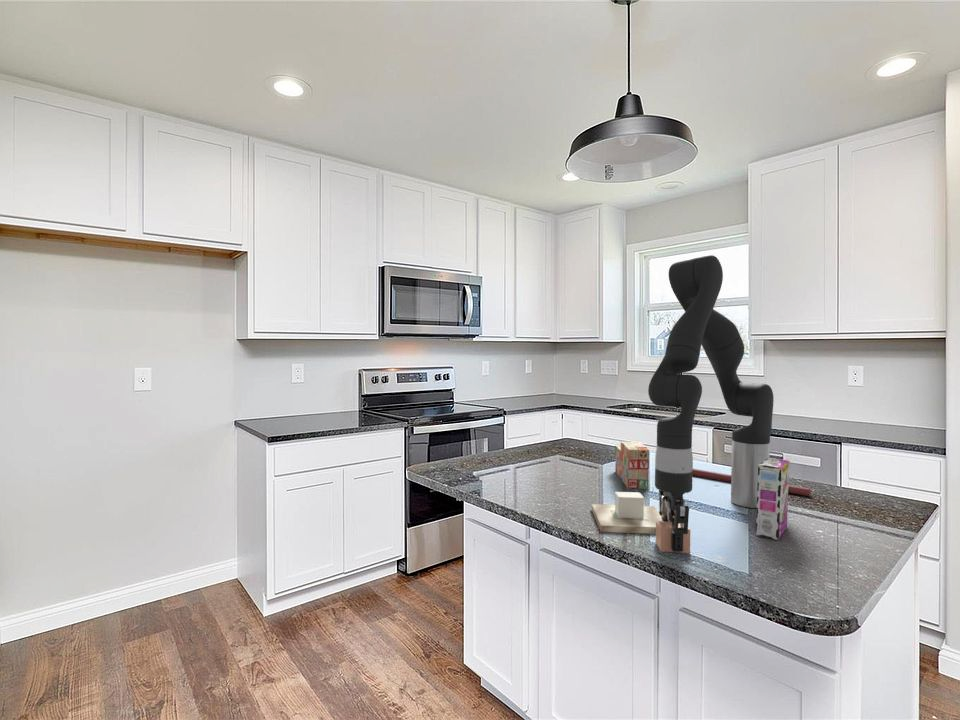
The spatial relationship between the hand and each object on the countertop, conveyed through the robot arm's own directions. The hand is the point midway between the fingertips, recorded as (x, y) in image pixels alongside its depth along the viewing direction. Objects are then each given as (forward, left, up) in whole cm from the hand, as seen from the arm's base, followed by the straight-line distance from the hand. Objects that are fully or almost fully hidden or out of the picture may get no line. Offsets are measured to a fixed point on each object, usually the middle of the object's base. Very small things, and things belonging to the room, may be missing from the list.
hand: (672, 544), depth 110 cm
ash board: (+6, -16, -1) cm, 17 cm away
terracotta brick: (0, 0, -1) cm, 1 cm away
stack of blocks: (-3, -57, -1) cm, 57 cm away
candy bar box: (-26, -12, -1) cm, 29 cm away
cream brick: (+6, -16, +1) cm, 17 cm away
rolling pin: (-33, -57, -1) cm, 66 cm away
